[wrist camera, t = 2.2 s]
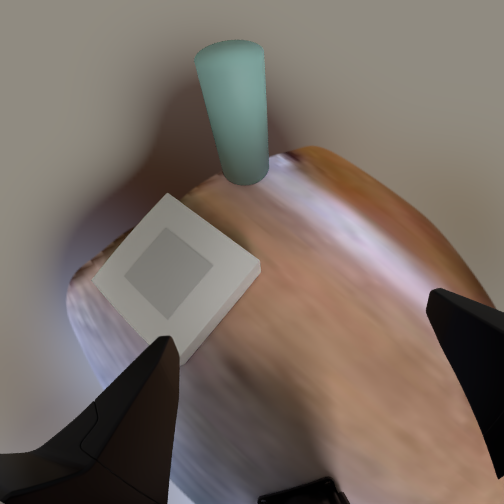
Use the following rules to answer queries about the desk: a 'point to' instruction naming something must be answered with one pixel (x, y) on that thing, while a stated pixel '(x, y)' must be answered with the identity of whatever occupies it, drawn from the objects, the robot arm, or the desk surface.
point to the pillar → (236, 107)
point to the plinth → (176, 276)
